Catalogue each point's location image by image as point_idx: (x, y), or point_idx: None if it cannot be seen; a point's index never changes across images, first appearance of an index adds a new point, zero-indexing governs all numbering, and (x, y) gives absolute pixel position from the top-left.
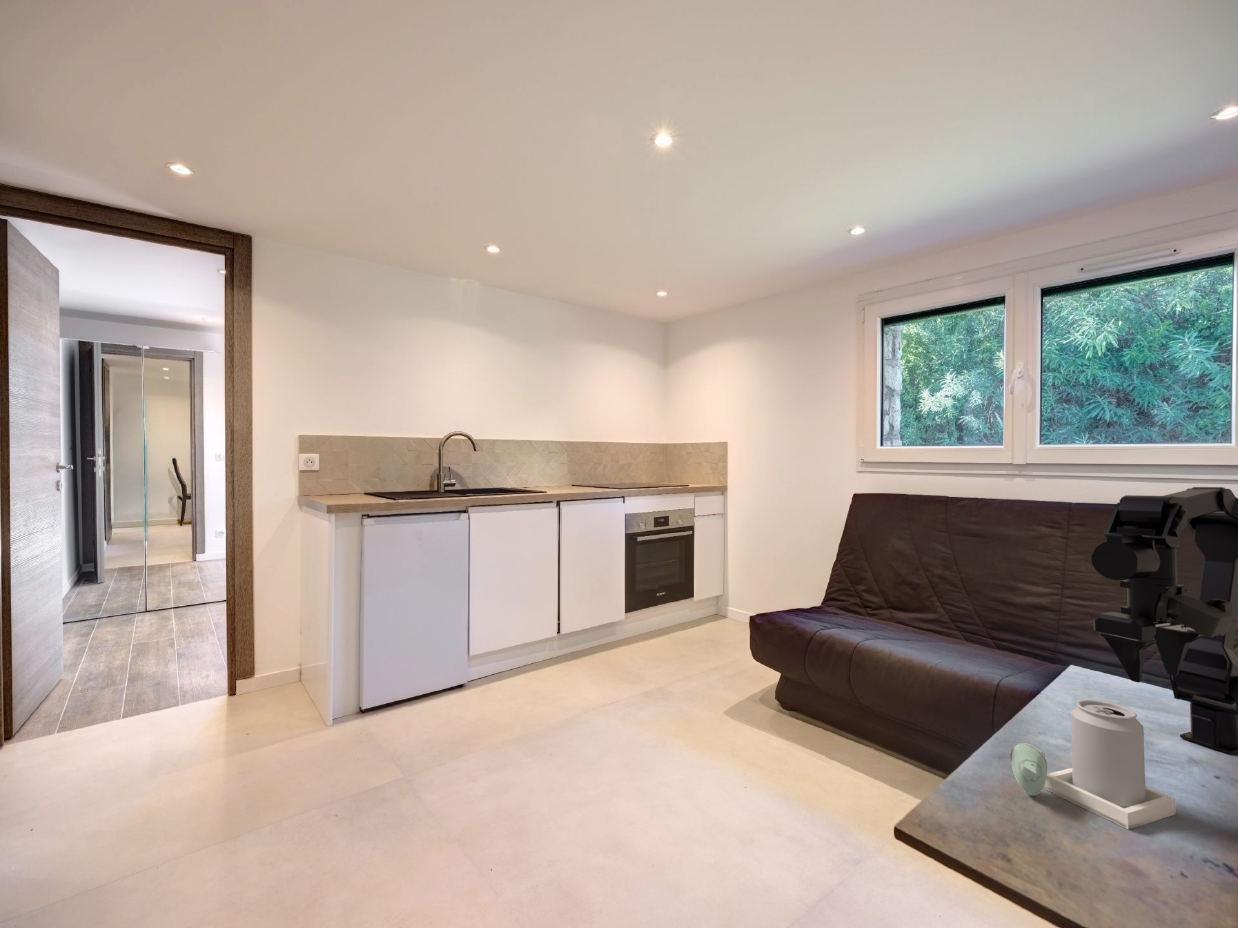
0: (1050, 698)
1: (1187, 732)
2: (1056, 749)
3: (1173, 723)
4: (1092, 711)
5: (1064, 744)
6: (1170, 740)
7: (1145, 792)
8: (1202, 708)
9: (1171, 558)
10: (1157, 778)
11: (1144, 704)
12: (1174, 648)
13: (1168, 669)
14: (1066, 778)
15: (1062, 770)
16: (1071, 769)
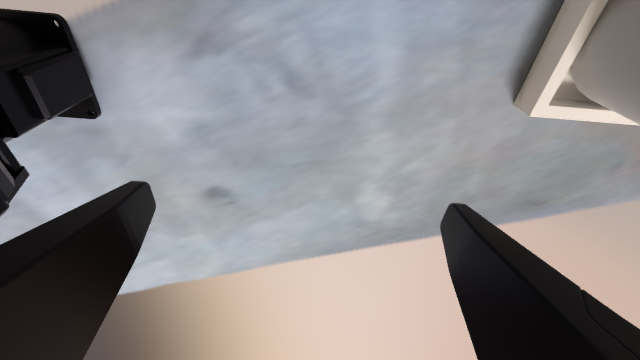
0: (180, 278)
1: (63, 116)
2: (415, 184)
3: (33, 155)
4: None
5: (377, 189)
6: (137, 118)
7: None
8: (5, 108)
9: None
10: (396, 38)
11: (6, 216)
12: (17, 330)
13: (142, 221)
14: None
15: (618, 123)
16: (598, 117)
